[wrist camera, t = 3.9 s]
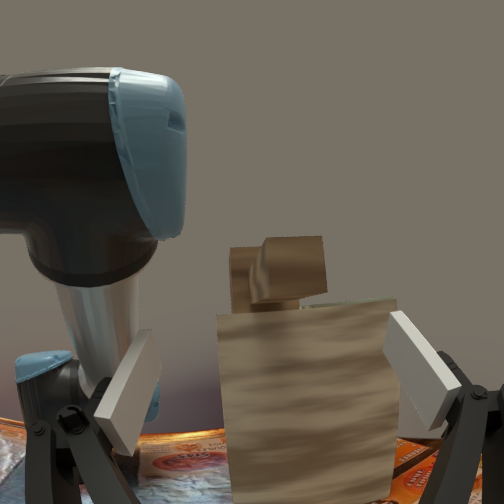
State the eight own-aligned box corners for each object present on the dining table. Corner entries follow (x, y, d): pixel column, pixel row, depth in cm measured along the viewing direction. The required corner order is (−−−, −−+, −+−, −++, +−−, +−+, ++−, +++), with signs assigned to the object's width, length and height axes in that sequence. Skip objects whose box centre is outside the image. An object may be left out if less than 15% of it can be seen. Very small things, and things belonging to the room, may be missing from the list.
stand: (389, 496, 27) (395, 295, 34) (235, 519, 28) (216, 311, 34) (355, 451, 45) (353, 301, 51) (242, 464, 45) (230, 311, 51)
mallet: (354, 303, 20) (341, 196, 22) (241, 313, 19) (234, 197, 21) (283, 310, 45) (279, 259, 47) (231, 313, 45) (228, 261, 46)
